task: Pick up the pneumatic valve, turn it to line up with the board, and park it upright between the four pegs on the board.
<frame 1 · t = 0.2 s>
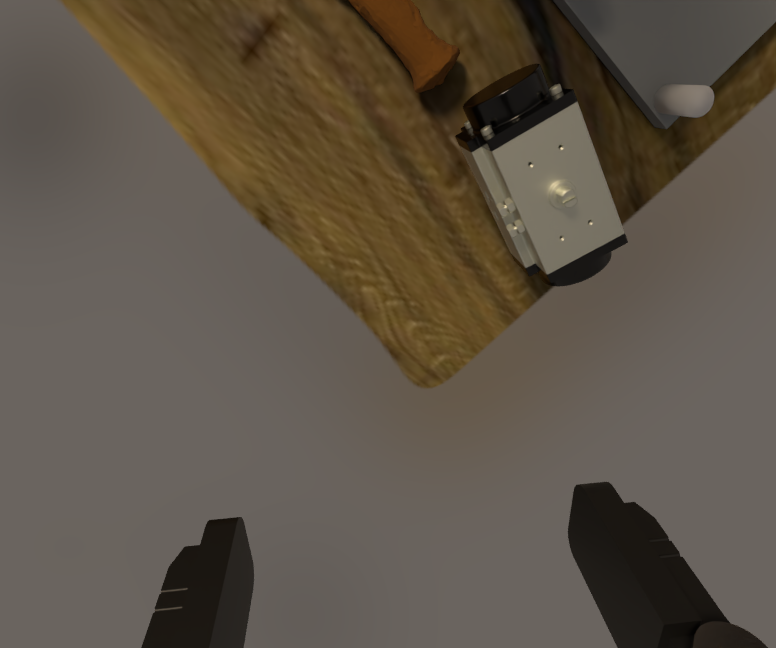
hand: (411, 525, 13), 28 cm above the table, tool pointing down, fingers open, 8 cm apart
pneumatic valve: (496, 164, 37), on the table
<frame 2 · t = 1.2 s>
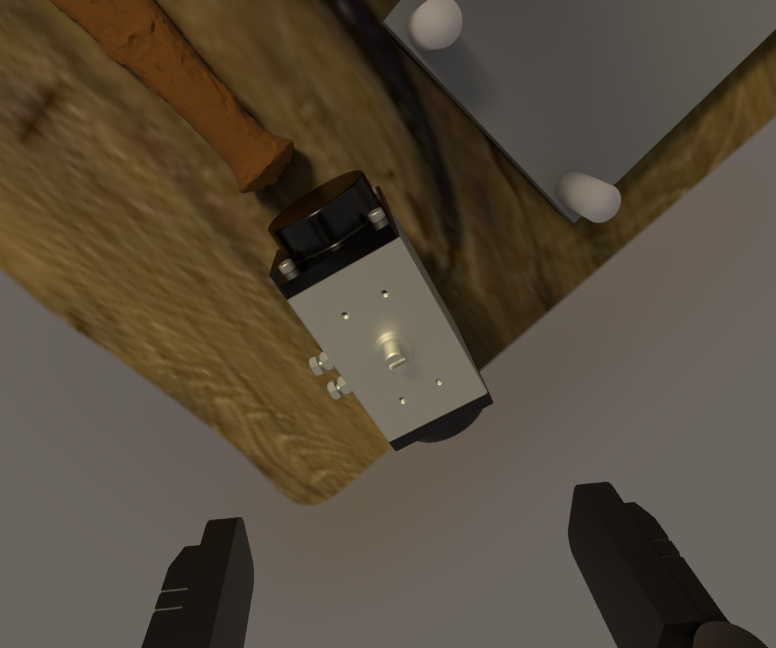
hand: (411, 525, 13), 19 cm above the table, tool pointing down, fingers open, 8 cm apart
pneumatic valve: (368, 259, 30), on the table
primitive tool: (117, 13, 24), on the table
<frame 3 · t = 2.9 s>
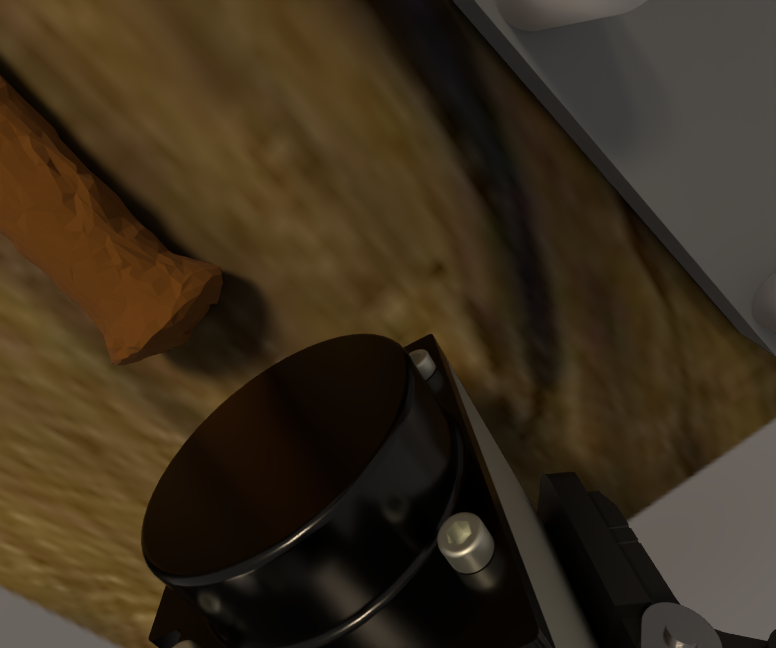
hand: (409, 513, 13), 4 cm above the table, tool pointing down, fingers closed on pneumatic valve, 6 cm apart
pneumatic valve: (392, 407, 17), on the table, touching gripper
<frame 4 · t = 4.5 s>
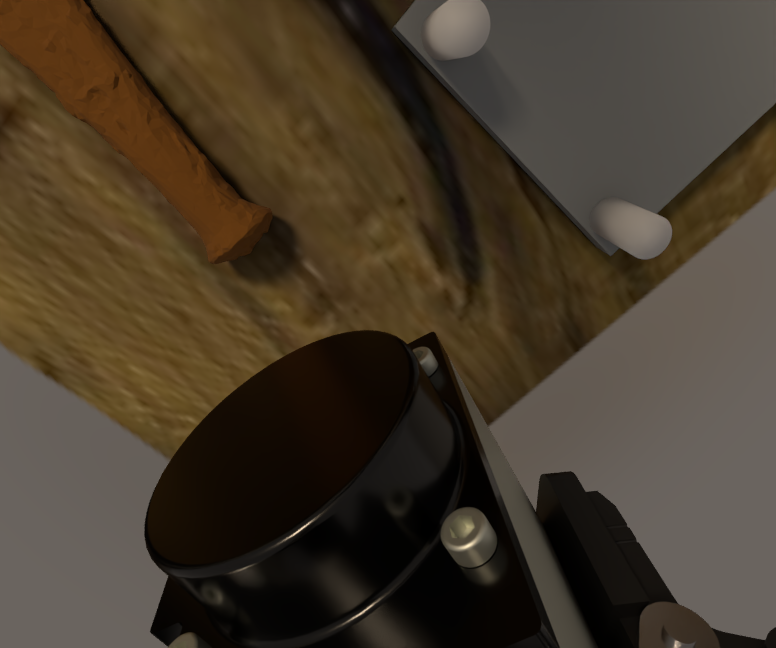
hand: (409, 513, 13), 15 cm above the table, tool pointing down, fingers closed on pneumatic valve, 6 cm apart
pneumatic valve: (392, 405, 17), point 10 cm above the table, touching gripper
primitive tool: (81, 59, 21), on the table
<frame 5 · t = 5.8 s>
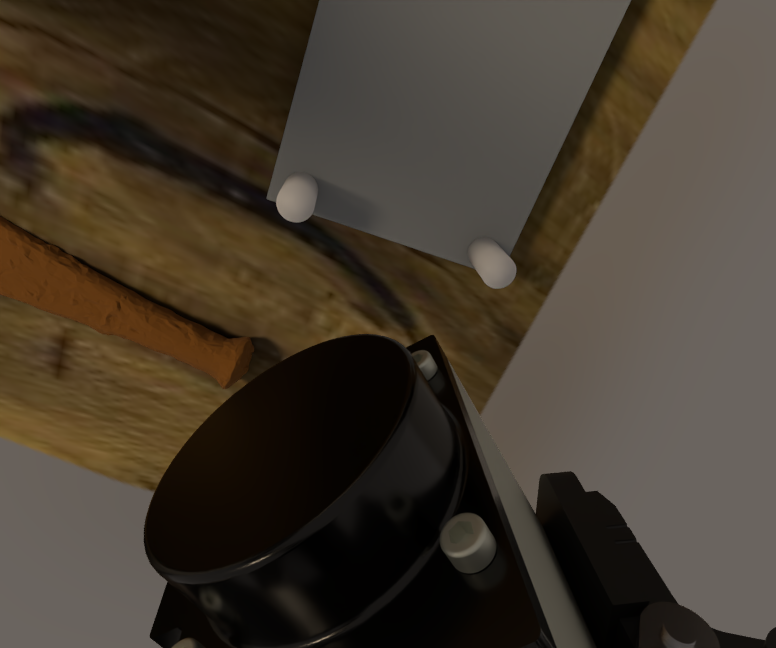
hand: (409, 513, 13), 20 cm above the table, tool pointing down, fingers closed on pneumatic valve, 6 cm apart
pneumatic valve: (392, 407, 17), point 16 cm above the table, touching gripper
peg board: (449, 63, 27), on the table
primitive tool: (95, 293, 32), on the table
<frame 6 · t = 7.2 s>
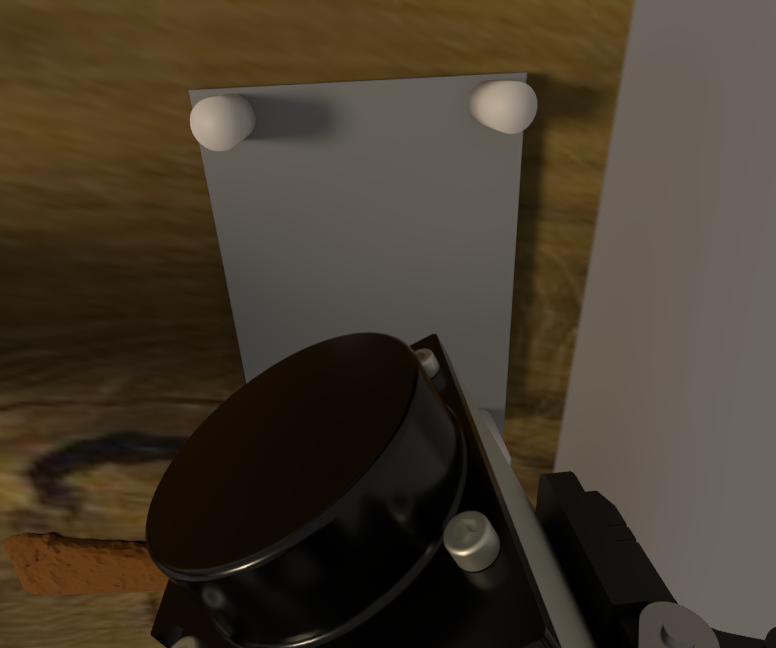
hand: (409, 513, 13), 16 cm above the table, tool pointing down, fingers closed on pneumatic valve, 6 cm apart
pneumatic valve: (392, 406, 17), point 11 cm above the table, touching gripper
peg board: (372, 282, 27), on the table
primitive tool: (167, 554, 35), on the table
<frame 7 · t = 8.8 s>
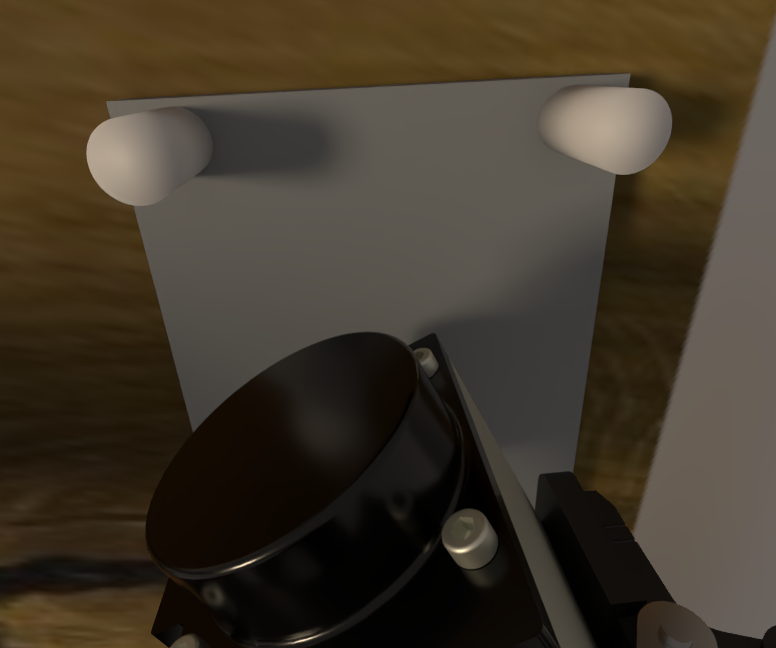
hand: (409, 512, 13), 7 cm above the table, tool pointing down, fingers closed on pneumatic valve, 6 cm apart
pneumatic valve: (392, 406, 17), point 3 cm above the table, touching gripper
peg board: (387, 365, 19), on the table
when the fingers open (7 cm above the table, at t = 9.2 s): pneumatic valve drops 1 cm, resting on peg board.
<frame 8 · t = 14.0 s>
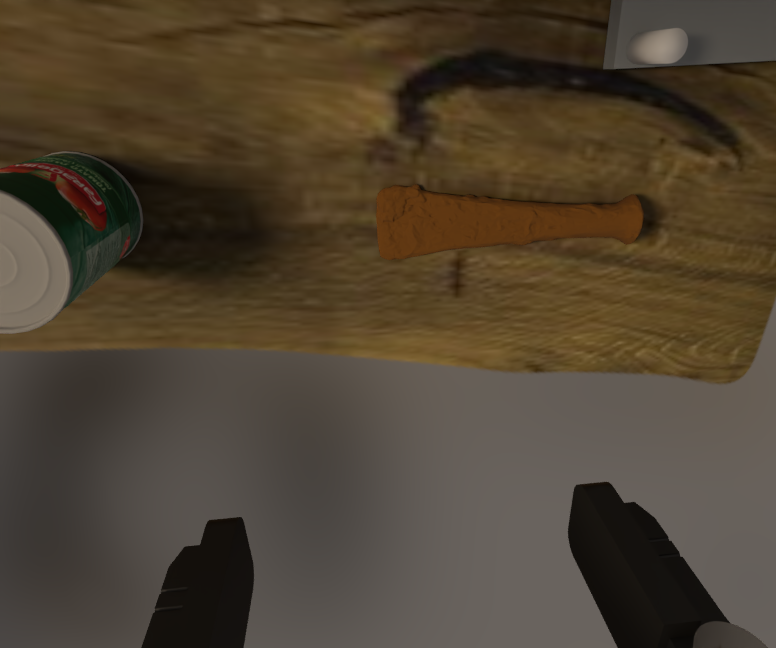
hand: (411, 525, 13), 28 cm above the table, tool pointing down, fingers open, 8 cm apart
primitive tool: (498, 222, 39), on the table
canned tomato: (84, 210, 36), on the table
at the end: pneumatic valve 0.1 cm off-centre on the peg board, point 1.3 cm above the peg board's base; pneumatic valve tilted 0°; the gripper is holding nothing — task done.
